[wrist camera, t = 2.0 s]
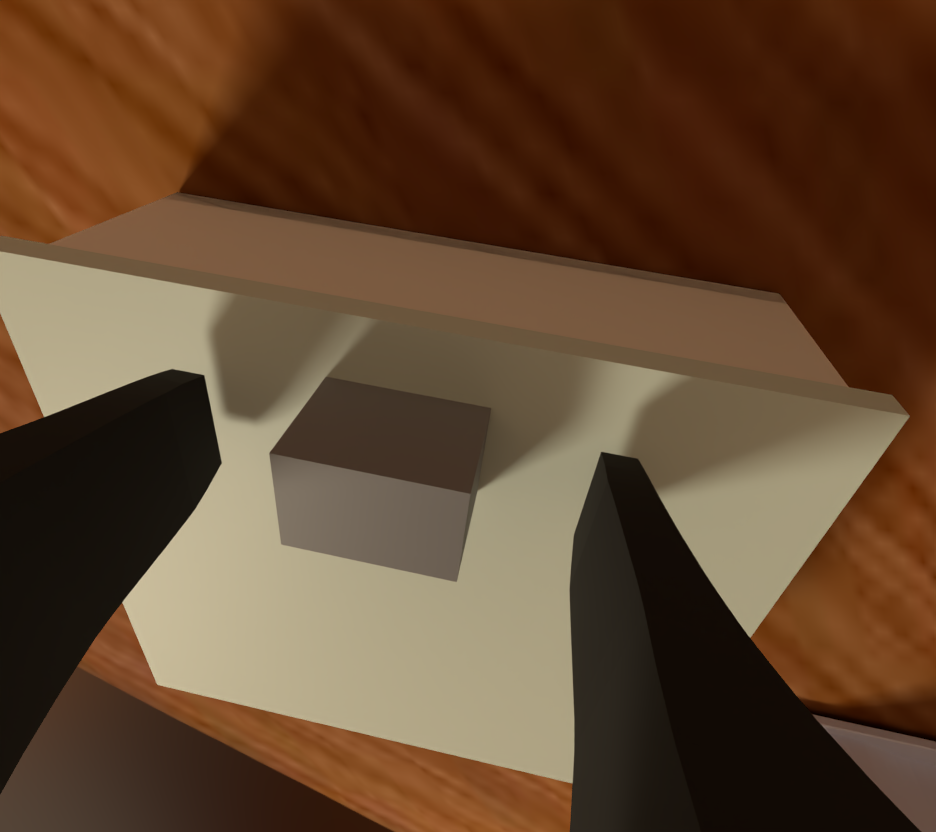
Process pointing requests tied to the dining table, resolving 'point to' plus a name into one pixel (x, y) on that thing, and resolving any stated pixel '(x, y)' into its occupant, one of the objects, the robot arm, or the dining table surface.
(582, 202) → the dining table surface
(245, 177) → the dining table surface
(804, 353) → the carton
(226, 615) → the lid
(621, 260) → the dining table surface
